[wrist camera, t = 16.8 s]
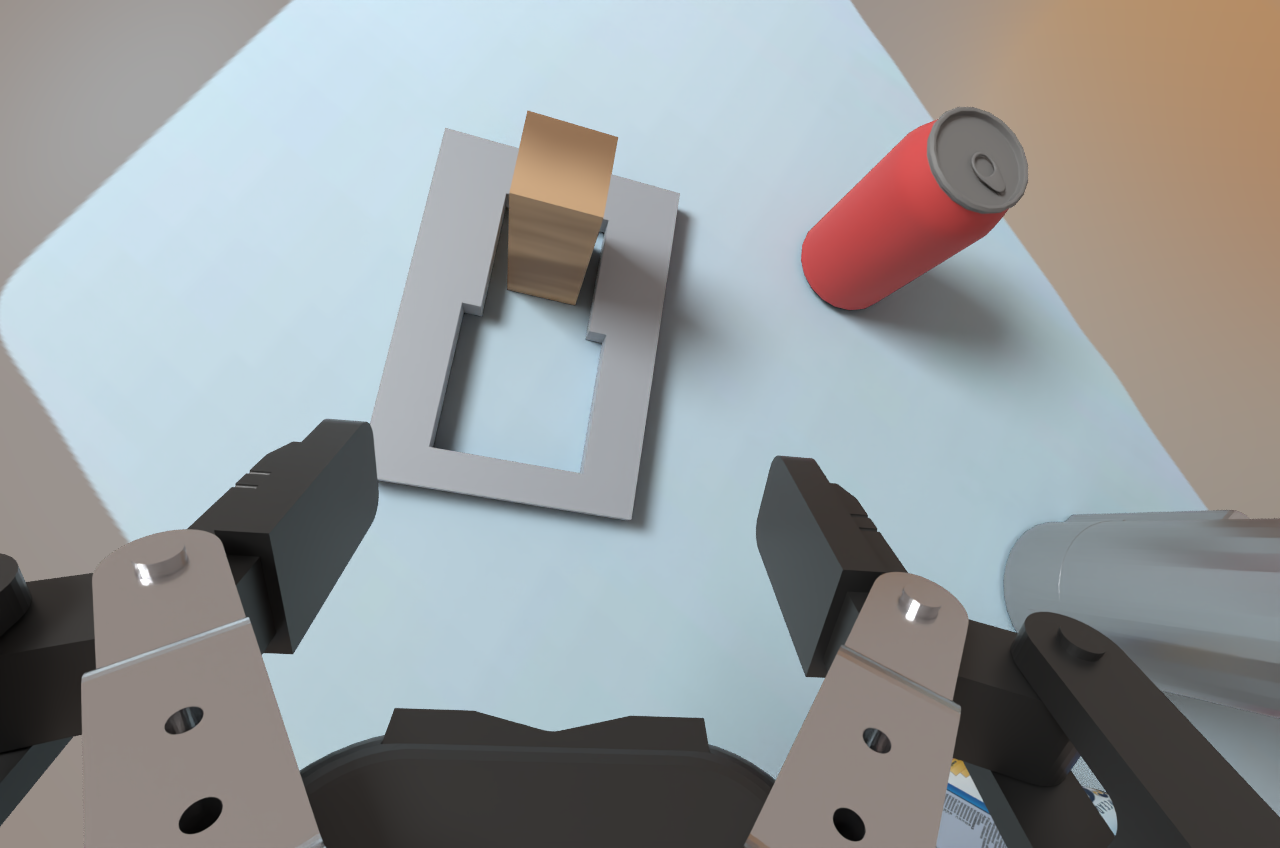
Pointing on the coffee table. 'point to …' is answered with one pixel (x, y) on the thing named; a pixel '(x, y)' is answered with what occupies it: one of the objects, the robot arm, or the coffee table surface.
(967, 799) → the beverage bottle
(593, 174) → the tan peg
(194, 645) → the robot arm
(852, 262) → the beer can
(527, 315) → the coffee table surface
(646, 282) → the keyhole plate
